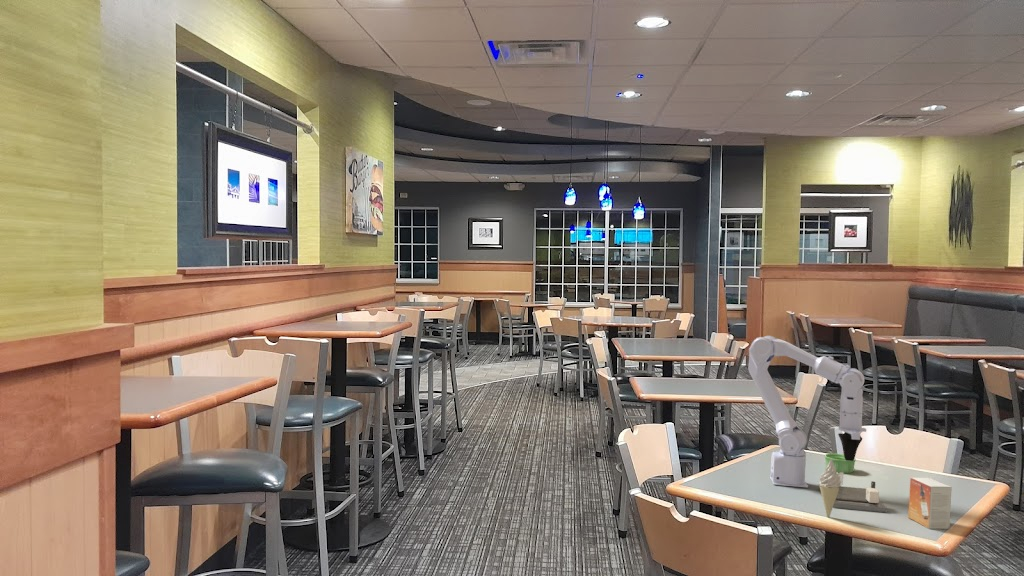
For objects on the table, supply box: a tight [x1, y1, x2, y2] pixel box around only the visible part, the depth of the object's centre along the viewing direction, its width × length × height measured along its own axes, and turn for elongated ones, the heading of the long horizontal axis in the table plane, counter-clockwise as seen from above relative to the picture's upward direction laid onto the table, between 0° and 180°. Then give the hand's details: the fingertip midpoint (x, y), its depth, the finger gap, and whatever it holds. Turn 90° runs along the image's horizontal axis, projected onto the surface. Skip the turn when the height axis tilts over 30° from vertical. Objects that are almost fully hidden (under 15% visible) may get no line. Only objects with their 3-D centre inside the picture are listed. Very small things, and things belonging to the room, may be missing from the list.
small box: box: [907, 477, 953, 530], centre depth 179 cm, size 8×6×10 cm
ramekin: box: [824, 453, 857, 474], centre depth 229 cm, size 9×9×4 cm
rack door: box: [837, 472, 844, 486], centre depth 203 cm, size 10×1×3 cm, turn 141°
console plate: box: [818, 481, 888, 513], centre depth 196 cm, size 13×18×6 cm
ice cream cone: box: [818, 459, 841, 518], centre depth 181 cm, size 5×5×15 cm
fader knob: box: [865, 487, 880, 503], centre depth 191 cm, size 2×4×3 cm, turn 168°
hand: (849, 460), depth 203 cm, fingers closed
